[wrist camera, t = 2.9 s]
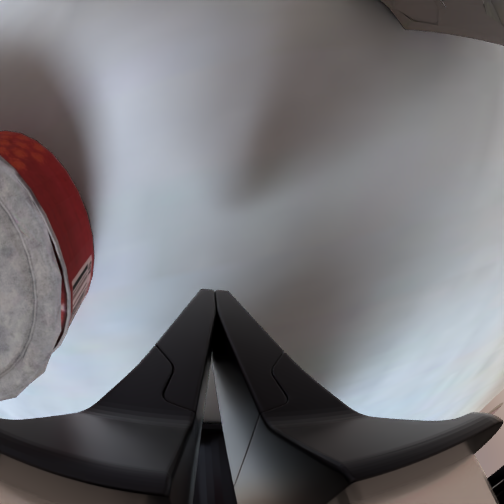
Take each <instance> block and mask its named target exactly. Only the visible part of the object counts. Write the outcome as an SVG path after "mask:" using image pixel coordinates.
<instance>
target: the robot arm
mask: <svg viewBox="0 0 504 504" xmlns="http://www.w3.org/2000/svg"><path fill="white" fill-rule="evenodd" d="M211 356H212V365H213V372H214V378H215V385H216V391H217V398H218V404H219V410H220V416H221V422H222V424H202V423H203V415H204V408H205V401H206V393H207V386H208V379H209V372H210V365H211ZM502 424H503V420H501V419H500V418H499V417H497V416H495V415H493V414H488V413H478V412H473V413H469V414H467V415H464V416H462V417H459V418H456V419H451V420H443V421H421V420H403V419H389V418H379V417H370V416H366V415H363V414H360V413H358V412H356V411H354V410H352V409H351V408H350V407H348V406H347V405H345V404H344V403H343V402H342V401H340V400H339V399H338V398H336V397H335V396H334V395H333V394H331V393H330V392H329V391H328V390H326V389H325V388H324V387H322V386H321V385H320V384H319V383H317V382H316V381H315V380H314V379H313V378H312V377H310V376H309V375H308V374H307V373H306V372H305V371H303V370H302V369H301V368H300V367H299V366H298V365H297V364H296V363H295V362H294V361H293V360H292V359H291V358H290V357H289V356H288V355H287V354H286V353H285V352H284V351H283V350H282V349H281V348H280V346H279V345H278V344H277V343H276V342H275V341H274V340H273V339H272V338H271V337H270V336H269V335H268V334H267V333H266V332H265V331H264V329H263V328H262V327H261V326H260V325H259V324H258V323H257V322H256V321H255V320H254V319H253V318H252V317H251V315H250V314H249V313H248V312H247V311H246V310H245V309H244V308H243V307H242V306H241V304H240V303H239V302H238V301H237V300H236V299H235V298H234V297H233V296H232V295H231V293H230V292H229V291H223V290H216V291H215V292H214V290H209V289H201V290H200V291H199V292H198V293H197V295H196V296H195V297H194V298H193V299H192V301H191V302H190V303H189V304H188V305H187V307H186V308H185V309H184V310H183V312H182V313H181V314H180V315H179V316H178V318H177V319H176V320H175V321H174V322H173V324H172V325H171V326H170V327H169V329H168V330H167V331H166V332H165V333H164V335H163V336H162V337H161V338H160V340H159V341H158V342H157V343H156V344H155V346H154V347H153V348H152V349H151V350H150V352H149V353H148V354H147V355H146V356H145V357H144V359H143V360H142V361H141V362H140V363H139V364H138V365H137V366H136V367H135V368H134V369H133V370H132V371H131V372H130V373H129V374H128V375H127V376H126V377H125V378H123V379H122V380H121V381H120V382H119V383H118V384H117V385H116V386H115V387H114V388H112V389H111V390H110V391H109V392H108V393H107V394H106V395H105V396H104V397H102V398H101V399H100V400H99V401H98V402H97V403H95V404H94V405H93V406H91V407H90V408H88V409H86V410H84V411H81V412H78V413H72V414H66V415H58V416H51V417H43V418H33V419H23V420H8V419H1V418H0V504H504V466H502V467H501V468H500V469H499V470H497V471H496V472H495V473H494V474H492V475H491V476H490V477H489V478H487V477H486V475H485V473H484V472H483V469H482V468H481V466H480V464H479V462H478V460H477V459H476V457H475V455H474V454H475V453H476V452H477V451H478V450H479V449H480V448H481V447H482V446H483V445H485V443H487V442H488V441H489V440H490V439H491V438H492V437H493V435H494V434H496V432H497V431H498V430H499V429H500V427H501V426H502Z"/></svg>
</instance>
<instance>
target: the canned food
mask: <svg viewBox="0 0 504 504" xmlns="http://www.w3.org/2000/svg"><path fill="white" fill-rule="evenodd" d="M93 266H94V246H93V235H92V231H91V227H90V222H89V218H88V214H87V211H86V208H85V206H84V203H83V201H82V198H81V196H80V193H79V191H78V189H77V187H76V186H75V184H74V182H73V180H72V179H71V177H70V175H69V174H68V172H67V170H66V169H65V168H64V167H63V165H62V164H61V163H60V162H59V161H58V159H57V158H56V157H55V156H54V154H53V153H52V152H50V151H49V150H48V149H47V148H45V147H44V146H43V145H42V144H40V143H39V142H38V141H37V140H34V139H32V138H30V137H28V136H26V135H24V134H22V133H17V132H11V131H0V401H2V400H6V399H10V398H15V397H17V396H18V395H19V394H20V393H21V392H22V391H23V390H24V389H25V388H26V387H27V386H28V385H29V384H30V383H32V382H33V381H34V380H35V379H36V378H38V377H39V376H40V375H41V374H43V373H44V372H45V369H46V367H47V364H48V361H49V359H50V356H51V354H52V353H53V352H54V351H55V350H56V349H57V348H58V347H59V346H60V345H61V343H62V341H63V340H64V338H65V336H66V334H67V331H68V328H69V326H70V324H71V322H72V320H73V318H74V316H75V314H76V312H77V311H78V309H79V307H80V305H81V303H82V301H83V300H84V298H85V296H86V295H87V293H88V290H89V286H90V283H91V280H92V277H93Z"/></svg>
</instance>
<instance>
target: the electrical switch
mask: <svg viewBox="0 0 504 504" xmlns="http://www.w3.org/2000/svg"><path fill="white" fill-rule="evenodd" d="M380 1H382V2H383V3H384V4H385V5H386V6H387V7H388V8H389V9H390V10H391V11H392V13H393V14H394V15H395V17H396V18H397V19H398V21H399V22H400V23H401V25H402V26H403V28H404V29H406V30H419V31H428V32H437V33H444V34H451V35H457V36H463V37H468V38H473V39H478V40H483V41H487V42H491V43H495V44H499V45H503V46H504V0H442V1H443V2H444V4H445V6H444V5H443V4H442V2H441V1H440V0H380ZM445 7H446V8H445Z"/></svg>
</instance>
